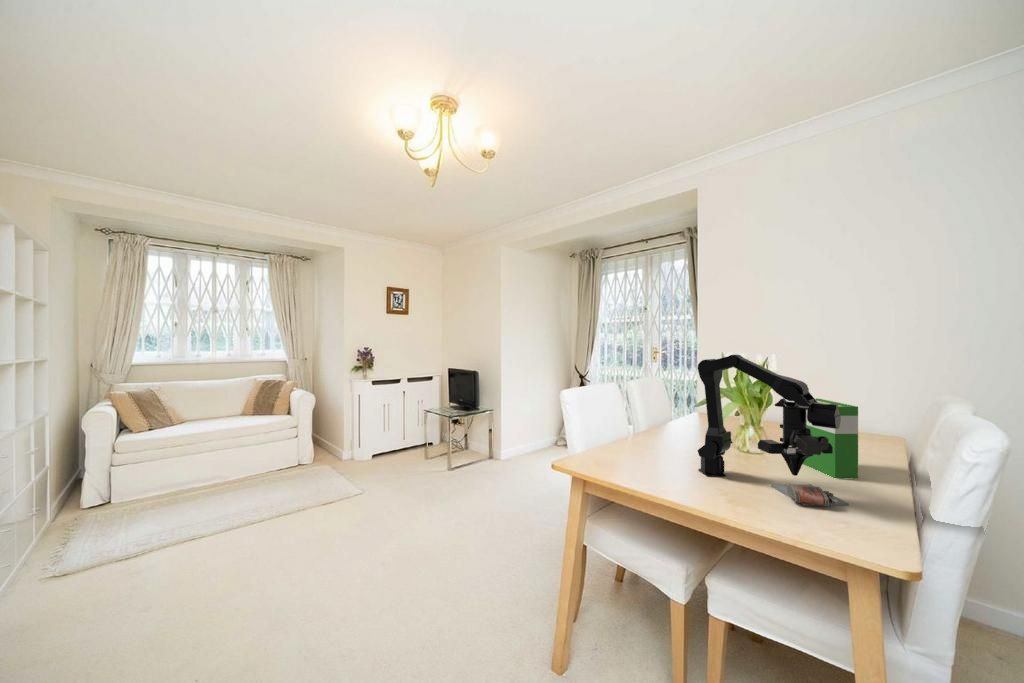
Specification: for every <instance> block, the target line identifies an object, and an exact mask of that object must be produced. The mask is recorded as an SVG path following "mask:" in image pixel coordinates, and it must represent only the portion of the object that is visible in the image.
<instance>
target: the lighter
mask: <svg viewBox="0 0 1024 683" xmlns="http://www.w3.org/2000/svg"><path fill="white" fill-rule="evenodd" d="M792 484H793V483H787V491H788V494H789V496H790V497H791V498H790V497H789V498H790V499H791V500H792V501H793V502H794V503H798V504H800V503H799V502H804V503H812V504H821V505H820V506H824V507H825V506H826V507H829V505H828V504H829V501H830V502H831V503H832V504H838V501H837V500H836V499H835V498H834V496H835V495H834V493H831V492H830V491H829V490H823V489H822V488H821V487H819V486H815V487H808V486H799V485H792Z"/></svg>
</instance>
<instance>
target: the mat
mask: <svg viewBox="0 0 1024 683" xmlns="http://www.w3.org/2000/svg"><path fill="white" fill-rule="evenodd" d="M787 484H788V483H787ZM787 484H779V483H778V484H770V487H771V488H773V489H774V488H775V489H774V490H777V491H778V492H780V493H782V494H783V495H785V496H786V497H788V498H790V499H791V497H790V496H789V494H788V491H787ZM791 484H792V485H799V486H808V487H816V486H815V485H812V484H810V483H809V484H806V483H804V484H803V483H798V484H793V483H791ZM834 498H835V499H836V500H837V501H838V504H832V503H831V502H830V501H829V504H828V506H849V505H850V504H849V502H847V501H845V500H843V499H841V498H839V497H837V496H835V495H834ZM798 504H801V505H802V506H822V505H821V504H812V503H804V502H799V503H798Z"/></svg>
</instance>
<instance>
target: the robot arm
mask: <svg viewBox="0 0 1024 683" xmlns="http://www.w3.org/2000/svg"><path fill="white" fill-rule="evenodd" d="M733 368H734V369H736V370H737V371H740V372H742V373H744V374H746V375H748V376H750V377H752V378H754V379H755V380H757V381H759V382H761V383H763V384H765V385H766V386H768V387H769V388H770V389H772V390H773V391H774V392H775V393H776V394H777V395H779V396H780V397H781V398H780V399H779V401H777V402H775V403H774V407H779V408H782V423H780V424H779V428H781V429H782V437H779V441H775V440H774V439H760V440H759V441H758V442H757V449H758V450H760V451H763V452H765V453H767V454H770V455H781V456H782V458H783V460H784V461H785V464H786V465H787V467H788V470H789V471H790V474H791V475H792V476H794V477H795V476H798V475H799V472H800V471H801V468H802V466H803V465H804V464H803V462H804V461H805V459H806V458H808V457H810V456H813V454H817V455H821V452H822V453H824V454H833V447H832V445H831V444H830V443H829V441H828V438H826V437H825V436H818V437H813V436H811V431H810V428H807V421H806V410H807V420H808V421H809V423H811V424H812V425H813V426H819V427H827V428H834V429H839V427H840V422H841V415H840V413H839V409H838V405H837V404H824V403H818V402H817V401H816V398H815V397H814V396H813V395H812V394H811V393H810V391H809V387H808V384H807V383H806V382H804V381H802V380H799V379H796V378H792V377H789V376H785V375H781V374H779V373H775V372H773V371H771V370H769V369H768V368H766V367H763V366H762V365H759V364H757V363H755V362H753V361H751V360H749V359H747V358H745V357H743V356H742V355H741V354H729V355H728V356H725V357H720V358H717V359H716V358H710V359H708V358H707V359H702V360H701V361H699V363H698V364H697V372H698V375H699V378H700V381H701V382H702V384H703V386H704V395H705V404H706V406H705V407H706V415H707V424H708V425H707V426H708V427H707V430H706V431H705V432H706V433H705V438H704V444H703V446H701V447H700V448H699V449H697V453H698V456H699V457H700V468H698V471H699V472H701V473H702V474H703V475H705V476H707V477H726V476H727V474H725V460H724V455H725V453H726V452H727V451H728V450H729V449H731V445H732V444H733V440H732V432H731V431H729V430H728V431H727V430H726V428H725V425H724V416H723V406H722V397H721V396H722V395H721V389H720V388H721V381H722V378H723V372H724V371H725V370H729V369H733Z"/></svg>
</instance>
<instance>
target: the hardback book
mask: <svg viewBox="0 0 1024 683" xmlns="http://www.w3.org/2000/svg"><path fill="white" fill-rule="evenodd" d="M815 400H816V401H817V402H818V403H824V404H837V405H838V409H839V413H840V415H841V422H840V427H839V429H834V428H827V427H819V426H813V425H812V424H811V423H809V421H808V420H807V410H806V421H807V428H810V431H811V436H813V437H818V436H825V437H826V438H828V441H829V443H830V444H831V445H832V447H833V454H824V453H822V452H821V455H817V454H813V456H810V457H808V458H806V459H805V461H804V462H803V464H802V465H804V466H806V467H808V466H809V467H808V468H810V467H811V469H812V468H813V470H814V471H817V470H818V471H817V472H819V471H820V473H821V472H822V473H821V474H823V473H824V474H823V475H826V474H827V475H826V476H828V475H829V476H828V477H830V476H831V478H832V477H833V479H834V478H858V479H859V406H856V405H852V404H847V403H841V402H837V401H833V400H827V399H823V398H818V397H817V398H815Z"/></svg>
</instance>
